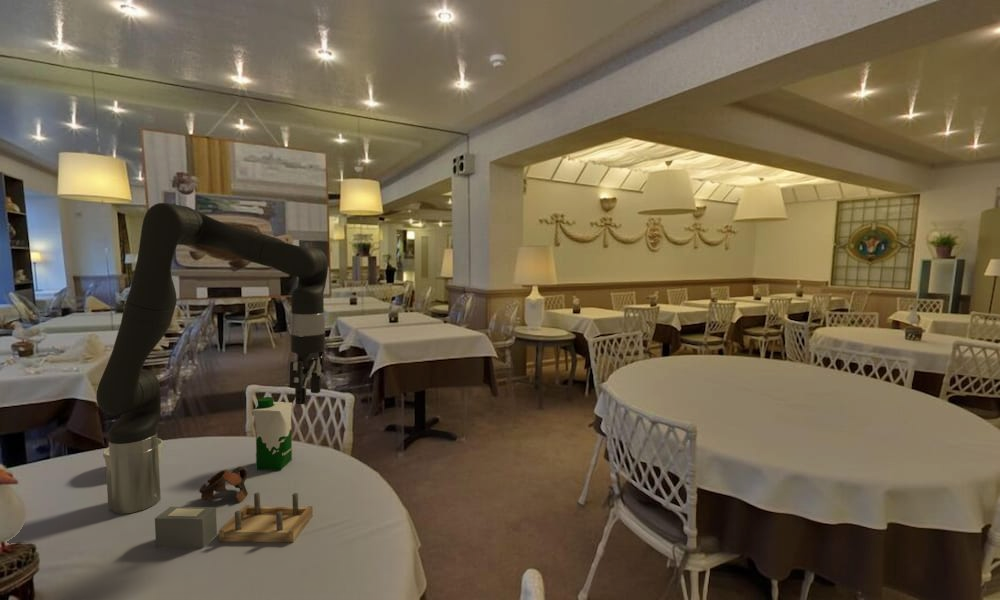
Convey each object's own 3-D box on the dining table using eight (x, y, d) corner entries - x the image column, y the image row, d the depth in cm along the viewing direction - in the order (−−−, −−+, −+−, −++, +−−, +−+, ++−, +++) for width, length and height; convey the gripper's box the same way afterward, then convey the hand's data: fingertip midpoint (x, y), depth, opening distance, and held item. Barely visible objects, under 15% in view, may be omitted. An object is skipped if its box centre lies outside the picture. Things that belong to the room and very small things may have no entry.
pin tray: (219, 541, 97) (218, 514, 96) (245, 514, 107) (244, 490, 106) (293, 542, 97) (292, 516, 96) (312, 516, 107) (312, 492, 106)
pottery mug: (236, 511, 109) (215, 486, 107) (207, 523, 111) (186, 499, 109) (264, 476, 120) (245, 453, 118) (237, 487, 123) (218, 465, 120)
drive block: (156, 547, 95) (154, 517, 94) (171, 534, 99) (170, 506, 98) (203, 548, 95) (202, 518, 94) (216, 535, 99) (215, 506, 99)
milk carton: (267, 458, 137) (265, 394, 135) (296, 458, 137) (295, 395, 135) (251, 471, 128) (249, 403, 127) (282, 472, 128) (280, 404, 126)
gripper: (304, 326, 113) (305, 389, 115) (277, 336, 99) (278, 407, 101) (334, 327, 113) (334, 390, 115) (311, 337, 99) (312, 408, 101)
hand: (308, 398), depth 108 cm, fingers open, 8 cm apart
